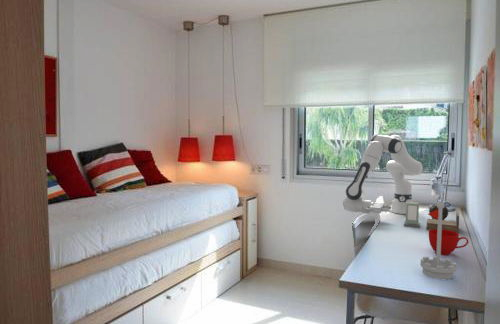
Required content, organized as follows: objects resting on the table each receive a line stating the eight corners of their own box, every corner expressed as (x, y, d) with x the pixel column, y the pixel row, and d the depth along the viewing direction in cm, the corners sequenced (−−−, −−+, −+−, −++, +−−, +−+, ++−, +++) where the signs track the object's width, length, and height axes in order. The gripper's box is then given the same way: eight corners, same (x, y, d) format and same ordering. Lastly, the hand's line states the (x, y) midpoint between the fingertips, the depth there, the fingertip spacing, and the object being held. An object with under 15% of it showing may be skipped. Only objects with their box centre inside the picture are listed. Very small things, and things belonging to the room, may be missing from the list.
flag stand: (444, 268, 159) (447, 198, 157) (462, 280, 146) (466, 204, 144) (414, 268, 158) (416, 198, 156) (430, 280, 145) (433, 204, 143)
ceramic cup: (467, 260, 170) (468, 238, 169) (426, 254, 178) (427, 233, 178) (467, 252, 181) (468, 232, 181) (428, 247, 190) (429, 228, 189)
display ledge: (427, 224, 239) (427, 209, 238) (457, 227, 231) (458, 211, 230) (426, 229, 226) (427, 213, 226) (458, 232, 219) (459, 216, 218)
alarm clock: (445, 221, 250) (446, 197, 248) (449, 222, 244) (450, 198, 243) (428, 220, 251) (429, 196, 250) (431, 222, 245) (432, 198, 244)
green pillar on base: (404, 223, 242) (405, 201, 241) (420, 224, 238) (420, 202, 237) (403, 226, 234) (404, 203, 233) (419, 228, 230) (420, 204, 229)
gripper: (365, 204, 238) (388, 206, 232) (370, 200, 256) (392, 201, 250) (365, 214, 239) (388, 216, 232) (370, 209, 257) (391, 211, 251)
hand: (390, 208), depth 241 cm, fingers open, 8 cm apart
